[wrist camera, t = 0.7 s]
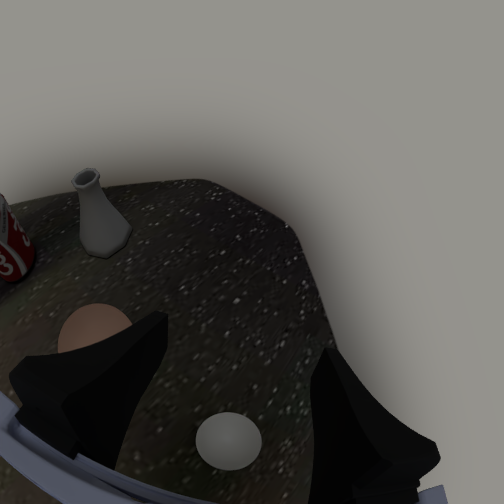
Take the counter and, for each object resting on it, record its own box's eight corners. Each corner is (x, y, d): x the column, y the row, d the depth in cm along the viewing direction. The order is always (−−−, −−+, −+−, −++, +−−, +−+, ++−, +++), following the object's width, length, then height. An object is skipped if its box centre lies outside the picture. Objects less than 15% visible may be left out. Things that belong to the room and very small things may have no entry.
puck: (130, 406, 21) (123, 404, 19) (58, 373, 21) (47, 368, 19) (153, 326, 27) (149, 318, 25) (84, 303, 26) (76, 293, 24)
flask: (105, 208, 34) (89, 151, 26) (142, 227, 33) (129, 166, 25) (72, 244, 30) (44, 188, 22) (107, 268, 29) (81, 210, 21)
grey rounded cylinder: (245, 462, 20) (255, 474, 15) (195, 453, 19) (190, 463, 15) (254, 418, 22) (266, 418, 18) (204, 409, 22) (202, 406, 17)
